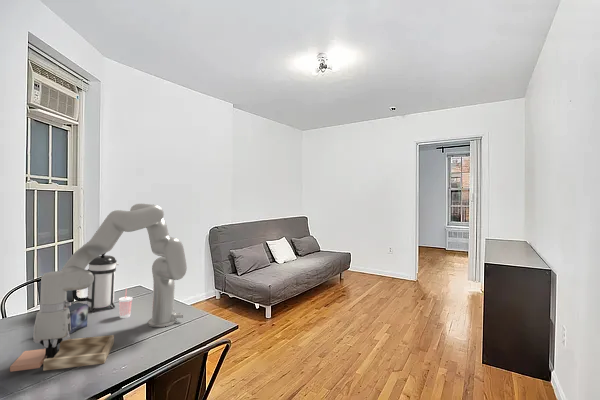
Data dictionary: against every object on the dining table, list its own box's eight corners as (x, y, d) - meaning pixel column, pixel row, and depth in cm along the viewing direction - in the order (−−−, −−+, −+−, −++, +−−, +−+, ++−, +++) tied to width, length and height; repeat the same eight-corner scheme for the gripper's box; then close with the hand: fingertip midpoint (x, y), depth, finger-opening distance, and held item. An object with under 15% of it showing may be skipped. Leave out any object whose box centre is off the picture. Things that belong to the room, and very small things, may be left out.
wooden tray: (113, 345, 128) (114, 334, 128) (104, 365, 113) (104, 353, 113) (60, 350, 122) (60, 339, 122) (43, 372, 107) (43, 360, 107)
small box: (66, 336, 134) (67, 311, 134) (54, 334, 135) (55, 309, 135) (88, 326, 144) (89, 303, 144) (76, 324, 146) (77, 302, 146)
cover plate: (50, 356, 118) (51, 348, 118) (39, 371, 108) (39, 362, 108) (24, 359, 116) (24, 351, 115) (9, 375, 105) (10, 366, 105)
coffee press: (97, 301, 176) (99, 248, 176) (123, 304, 174) (125, 250, 174) (70, 312, 159) (72, 253, 159) (98, 315, 157) (101, 255, 157)
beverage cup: (128, 313, 162) (129, 286, 162) (133, 316, 158) (135, 288, 158) (115, 316, 157) (117, 288, 157) (120, 319, 153) (122, 291, 153)
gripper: (80, 301, 120) (78, 349, 120) (32, 304, 115) (30, 354, 115) (74, 308, 113) (72, 359, 113) (22, 311, 108) (20, 365, 108)
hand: (51, 356), depth 114 cm, fingers closed
